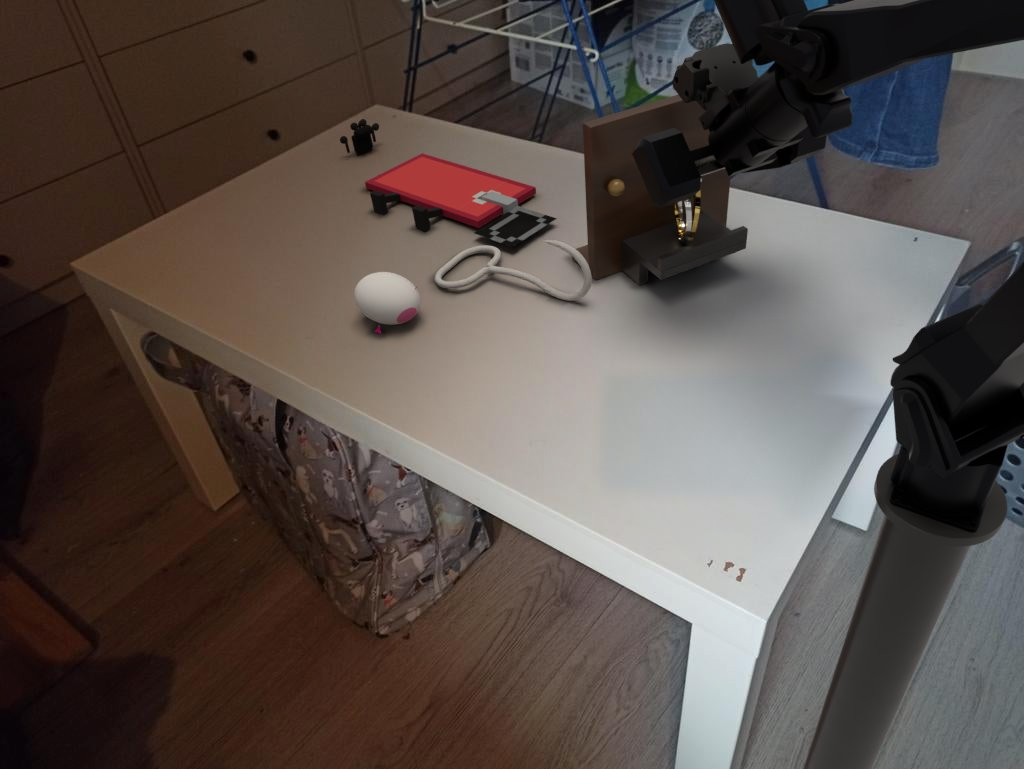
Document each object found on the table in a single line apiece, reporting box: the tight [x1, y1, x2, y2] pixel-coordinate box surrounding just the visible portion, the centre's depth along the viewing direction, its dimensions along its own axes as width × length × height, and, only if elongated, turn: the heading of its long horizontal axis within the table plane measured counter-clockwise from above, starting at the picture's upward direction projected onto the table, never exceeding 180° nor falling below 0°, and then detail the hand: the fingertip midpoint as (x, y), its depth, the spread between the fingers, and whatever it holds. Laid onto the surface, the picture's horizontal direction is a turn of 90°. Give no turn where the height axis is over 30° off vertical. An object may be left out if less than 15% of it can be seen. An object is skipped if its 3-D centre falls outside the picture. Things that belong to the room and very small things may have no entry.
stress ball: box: [354, 271, 421, 335], centre depth 87 cm, size 8×8×7 cm
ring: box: [673, 178, 702, 243], centre depth 85 cm, size 7×3×8 cm, turn 0°
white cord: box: [434, 239, 593, 302], centre depth 89 cm, size 7×9×20 cm
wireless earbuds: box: [339, 118, 380, 155], centre depth 122 cm, size 7×2×5 cm, turn 131°
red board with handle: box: [364, 152, 557, 248], centre depth 106 cm, size 30×3×15 cm
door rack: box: [571, 94, 749, 286], centre depth 86 cm, size 13×18×18 cm
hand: (691, 182), depth 82 cm, fingers open, 9 cm apart
